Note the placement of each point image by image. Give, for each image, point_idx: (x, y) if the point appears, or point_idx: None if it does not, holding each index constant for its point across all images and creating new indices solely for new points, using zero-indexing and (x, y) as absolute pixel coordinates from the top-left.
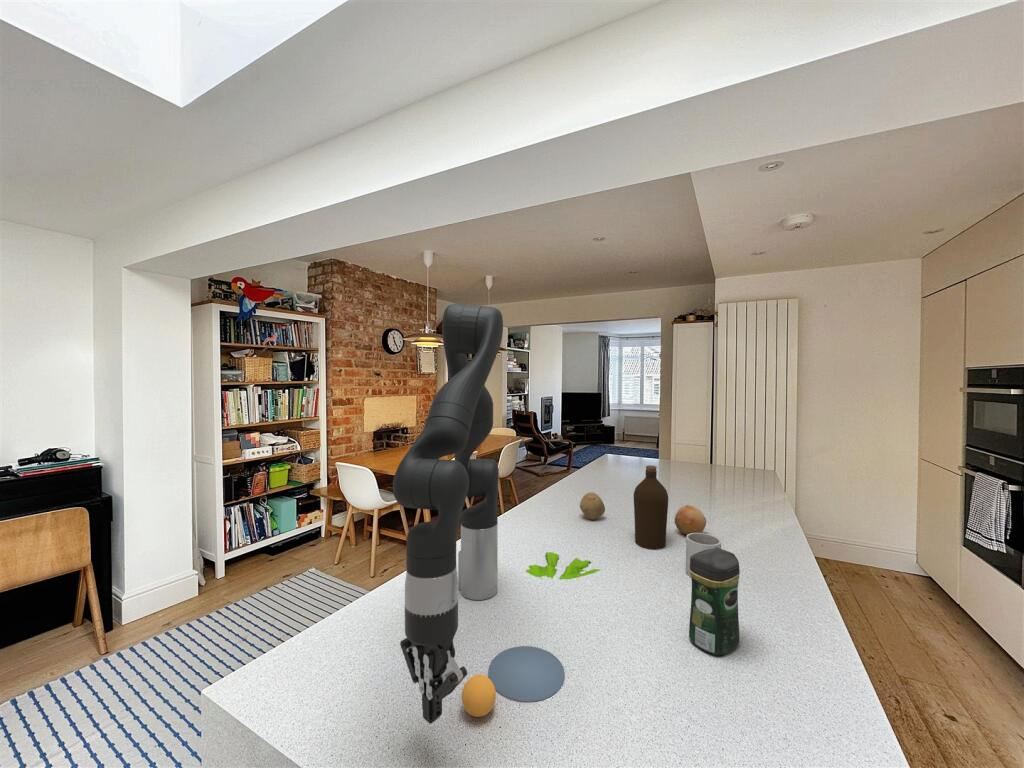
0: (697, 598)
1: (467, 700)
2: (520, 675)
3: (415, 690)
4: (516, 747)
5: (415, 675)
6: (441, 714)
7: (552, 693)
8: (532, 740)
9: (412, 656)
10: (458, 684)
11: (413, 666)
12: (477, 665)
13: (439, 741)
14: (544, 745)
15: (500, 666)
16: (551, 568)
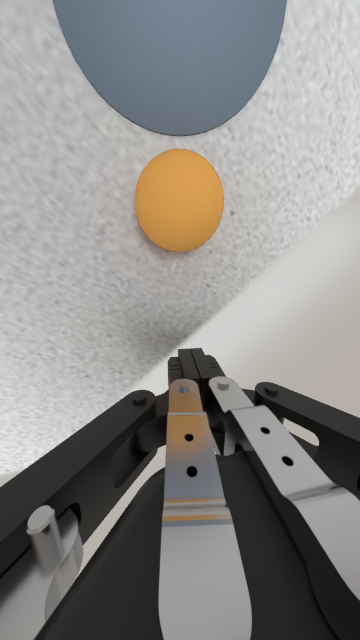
0: None
1: (183, 249)
2: (173, 23)
3: (25, 272)
4: (281, 228)
5: (148, 461)
6: (211, 356)
7: (280, 27)
8: (297, 194)
9: (92, 517)
10: (340, 411)
11: (127, 487)
12: (46, 82)
13: (170, 312)
14: (320, 187)
15: (101, 31)
16: None
